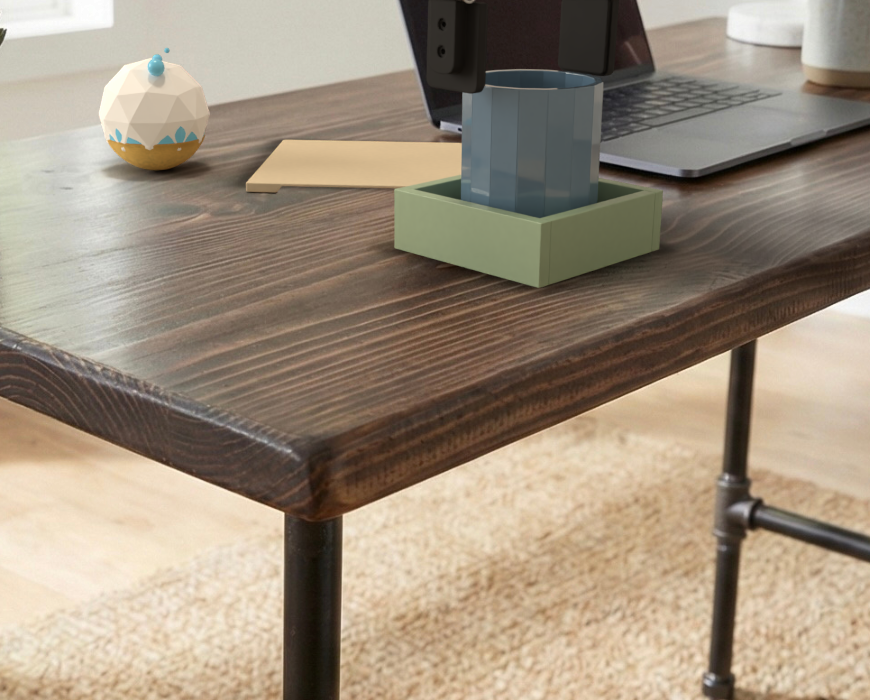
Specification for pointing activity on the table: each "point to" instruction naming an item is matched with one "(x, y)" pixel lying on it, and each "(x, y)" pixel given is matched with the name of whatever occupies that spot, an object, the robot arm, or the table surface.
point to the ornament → (154, 114)
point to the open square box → (527, 231)
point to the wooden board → (355, 164)
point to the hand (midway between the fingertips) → (523, 80)
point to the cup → (532, 141)
